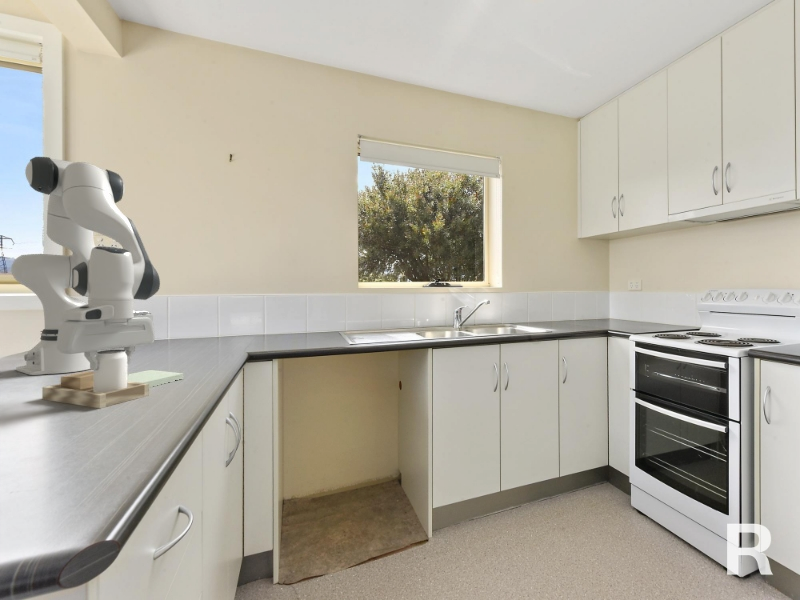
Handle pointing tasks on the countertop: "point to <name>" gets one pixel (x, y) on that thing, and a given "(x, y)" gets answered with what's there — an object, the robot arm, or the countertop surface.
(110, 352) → the can
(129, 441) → the countertop surface
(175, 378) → the board
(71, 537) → the countertop surface
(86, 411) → the countertop surface
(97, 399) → the rack
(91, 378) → the offcut upper
